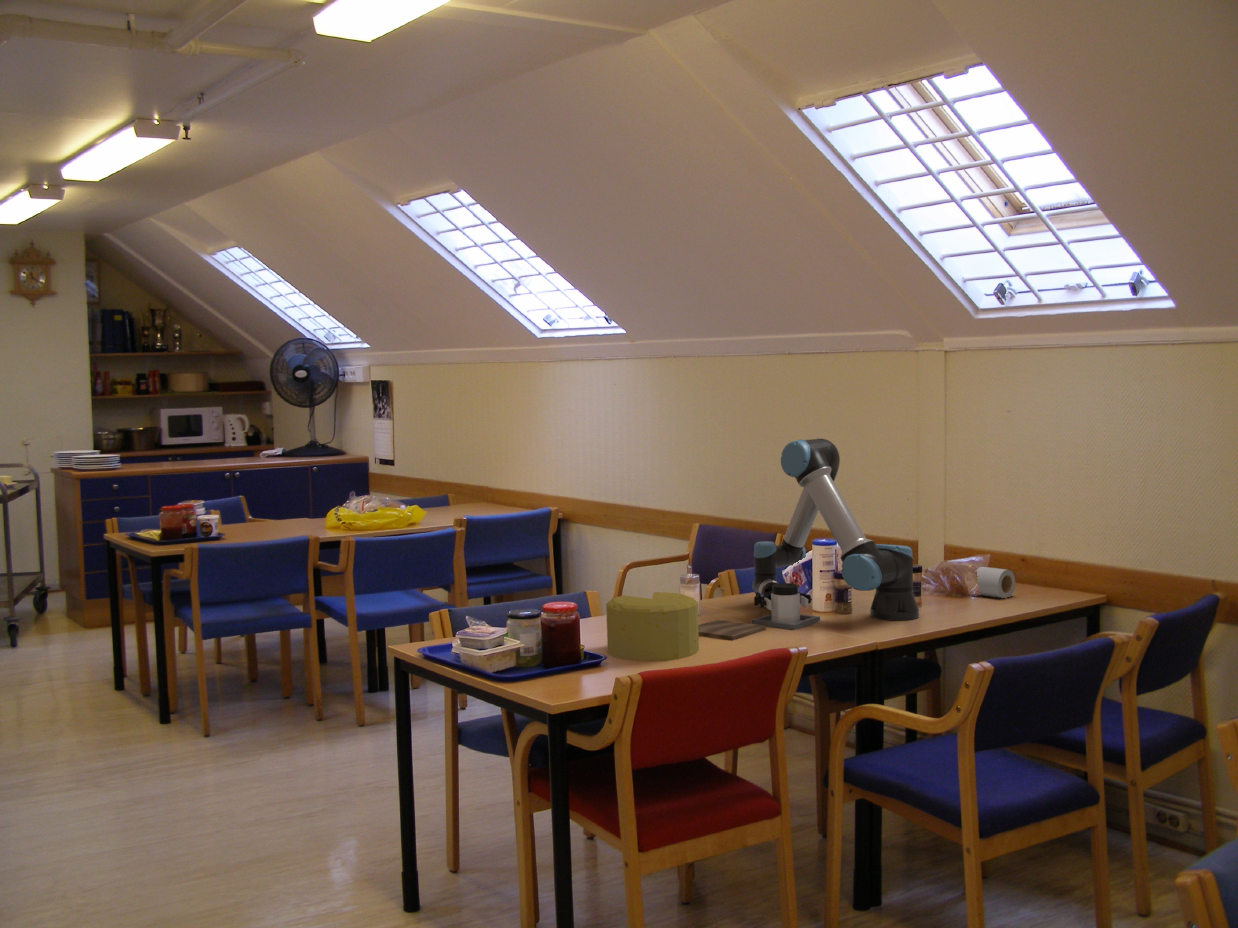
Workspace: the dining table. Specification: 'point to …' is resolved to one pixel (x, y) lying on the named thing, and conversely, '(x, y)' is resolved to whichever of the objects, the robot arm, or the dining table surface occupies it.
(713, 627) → the walnut board
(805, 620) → the frame
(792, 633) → the dining table surface
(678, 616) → the cheese
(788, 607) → the jar
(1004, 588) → the toilet paper
